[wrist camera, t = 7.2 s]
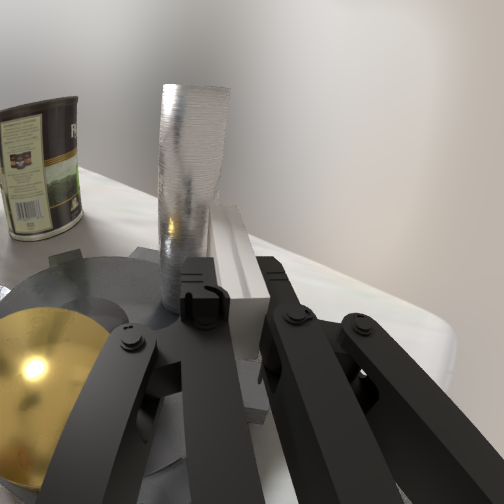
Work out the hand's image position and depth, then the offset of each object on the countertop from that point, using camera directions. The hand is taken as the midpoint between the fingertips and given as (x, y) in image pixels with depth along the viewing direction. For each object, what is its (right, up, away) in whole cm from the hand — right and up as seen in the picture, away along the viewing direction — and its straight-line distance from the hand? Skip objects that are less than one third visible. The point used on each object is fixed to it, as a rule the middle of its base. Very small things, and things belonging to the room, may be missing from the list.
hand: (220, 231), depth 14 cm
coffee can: (-23, +3, +15) cm, 28 cm away
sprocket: (-8, -8, +1) cm, 11 cm away
